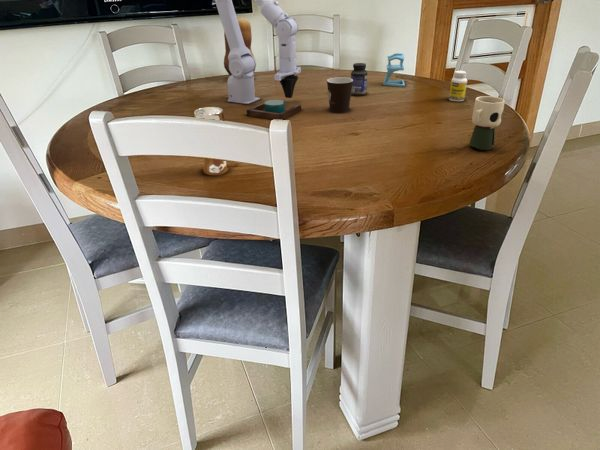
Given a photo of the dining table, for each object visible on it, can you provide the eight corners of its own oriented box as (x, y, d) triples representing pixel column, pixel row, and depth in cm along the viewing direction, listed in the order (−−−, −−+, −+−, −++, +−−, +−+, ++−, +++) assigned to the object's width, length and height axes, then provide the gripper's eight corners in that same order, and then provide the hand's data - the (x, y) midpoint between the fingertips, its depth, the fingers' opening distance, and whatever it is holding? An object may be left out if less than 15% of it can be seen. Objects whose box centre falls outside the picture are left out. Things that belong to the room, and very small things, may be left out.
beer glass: (203, 166, 117) (195, 107, 109) (230, 164, 117) (224, 105, 110) (200, 177, 111) (191, 115, 103) (229, 175, 111) (222, 114, 104)
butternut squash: (263, 78, 202) (259, 16, 190) (243, 84, 192) (238, 19, 180) (238, 74, 209) (233, 14, 196) (218, 81, 199) (212, 18, 187)
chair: (383, 82, 191) (385, 51, 185) (403, 82, 190) (406, 51, 184) (383, 86, 184) (385, 55, 178) (404, 87, 183) (407, 55, 177)
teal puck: (260, 114, 155) (260, 103, 153) (272, 108, 160) (271, 98, 159) (278, 116, 152) (278, 106, 150) (289, 111, 157) (289, 101, 156)
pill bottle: (367, 96, 172) (368, 65, 167) (350, 96, 172) (352, 65, 167) (365, 92, 178) (367, 62, 172) (349, 92, 178) (350, 62, 172)
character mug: (482, 156, 118) (491, 106, 112) (457, 149, 123) (465, 100, 117) (504, 146, 124) (514, 98, 118) (480, 139, 129) (488, 93, 123)
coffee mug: (350, 114, 153) (351, 83, 148) (324, 113, 154) (324, 82, 149) (354, 104, 162) (355, 75, 157) (329, 103, 164) (330, 75, 159)
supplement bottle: (447, 101, 164) (451, 72, 159) (449, 97, 168) (453, 69, 163) (463, 102, 162) (468, 73, 157) (465, 98, 166) (469, 70, 162)
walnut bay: (247, 115, 154) (246, 109, 153) (268, 105, 164) (268, 100, 163) (281, 120, 148) (281, 114, 147) (301, 110, 158) (301, 104, 157)
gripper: (286, 61, 149) (288, 103, 156) (308, 54, 160) (308, 93, 166) (268, 60, 152) (270, 101, 159) (290, 52, 163) (291, 91, 170)
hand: (288, 97), depth 163 cm, fingers closed
